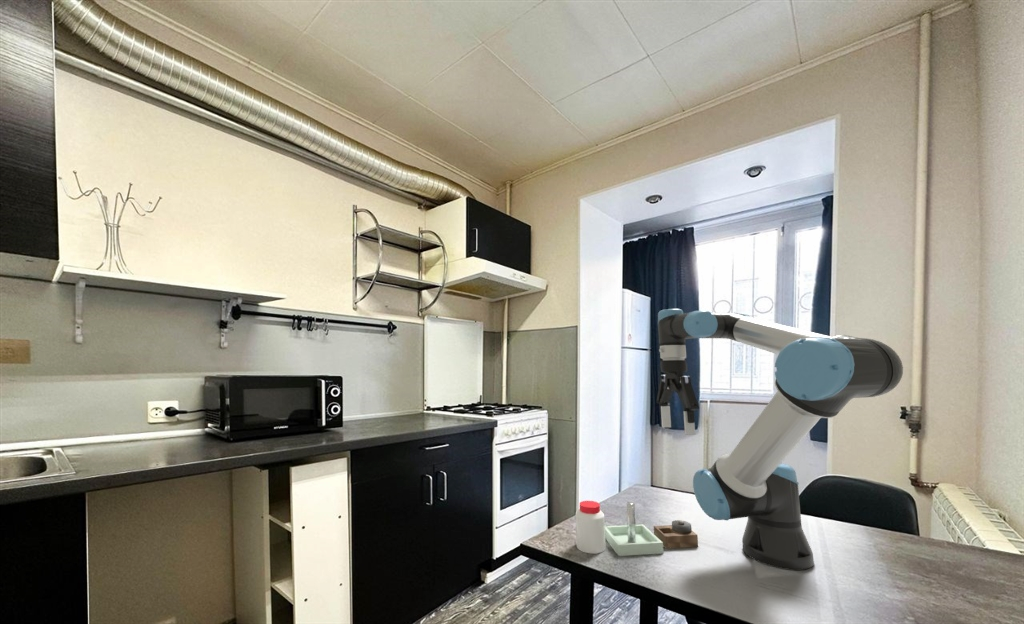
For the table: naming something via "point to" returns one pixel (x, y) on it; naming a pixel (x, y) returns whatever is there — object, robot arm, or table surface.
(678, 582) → the table surface
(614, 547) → the tray
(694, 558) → the table surface
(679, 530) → the brown and grey block
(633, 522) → the clear translucent rod
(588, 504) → the pill bottle
